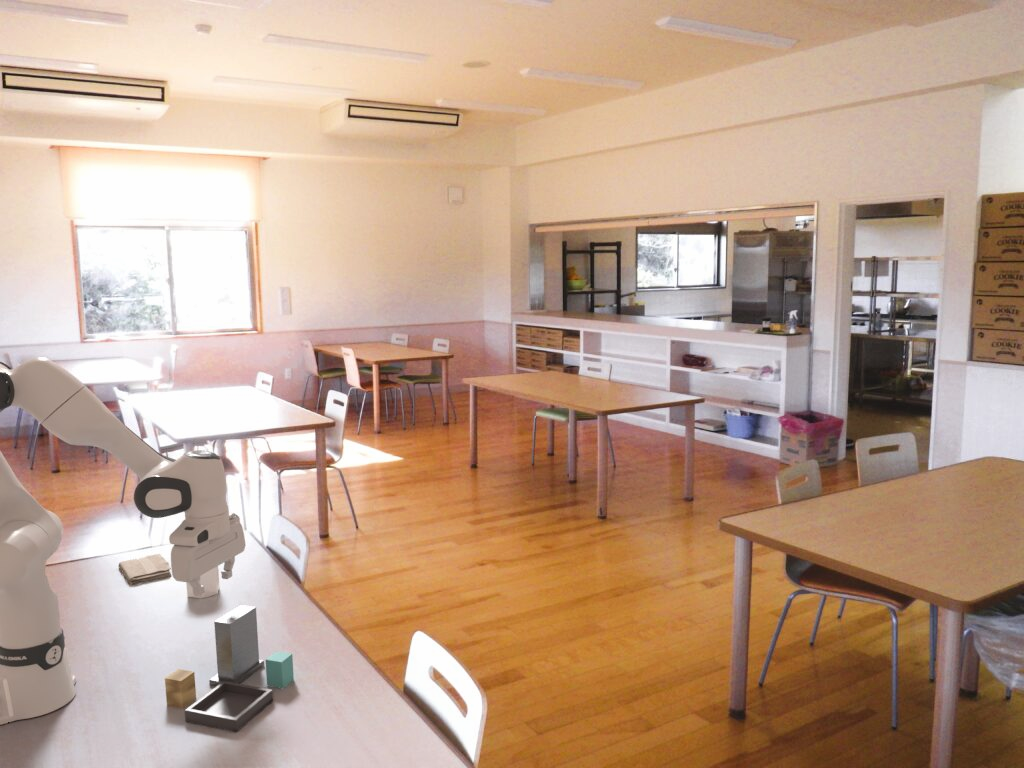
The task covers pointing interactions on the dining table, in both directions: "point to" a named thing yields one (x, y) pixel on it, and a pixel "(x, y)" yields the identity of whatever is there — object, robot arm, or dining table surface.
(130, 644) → the dining table surface
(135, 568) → the washcloth
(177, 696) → the ochre block
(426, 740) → the dining table surface
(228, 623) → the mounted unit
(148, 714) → the dining table surface
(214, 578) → the jar
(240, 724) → the black tray
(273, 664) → the teal block
